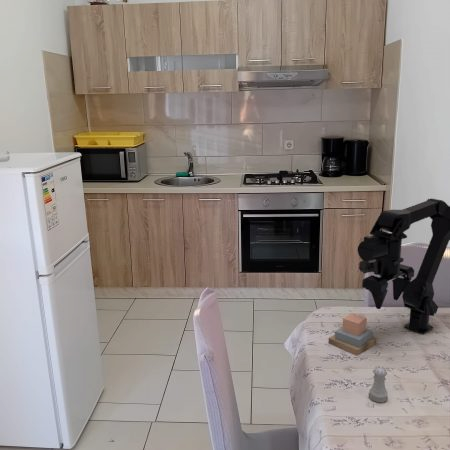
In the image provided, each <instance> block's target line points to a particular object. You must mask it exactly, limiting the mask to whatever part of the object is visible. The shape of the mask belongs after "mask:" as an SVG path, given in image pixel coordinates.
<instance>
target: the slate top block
mask: <svg viewBox="0 0 450 450" xmlns="http://www.w3.org/2000/svg"><path fill="white" fill-rule="evenodd" d="M373 333H374V330H372V329H369V328H367V327H366V331H364V332H363V333H362V334H360V335H359V336H356V335H353V334H350V333H347V332H344V331H343V325H342V326H341V327H339V328H338V329H336V330H335V331H334V335H335V339H336V340H339V341H342V342H344V343H347V344H350V345H352V346H355V347H358V348H360V347H361V346H362V345H364V344H365V343H366V342H368V341H369V340H371V339H372V337H373V336H374V334H373Z"/></svg>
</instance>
